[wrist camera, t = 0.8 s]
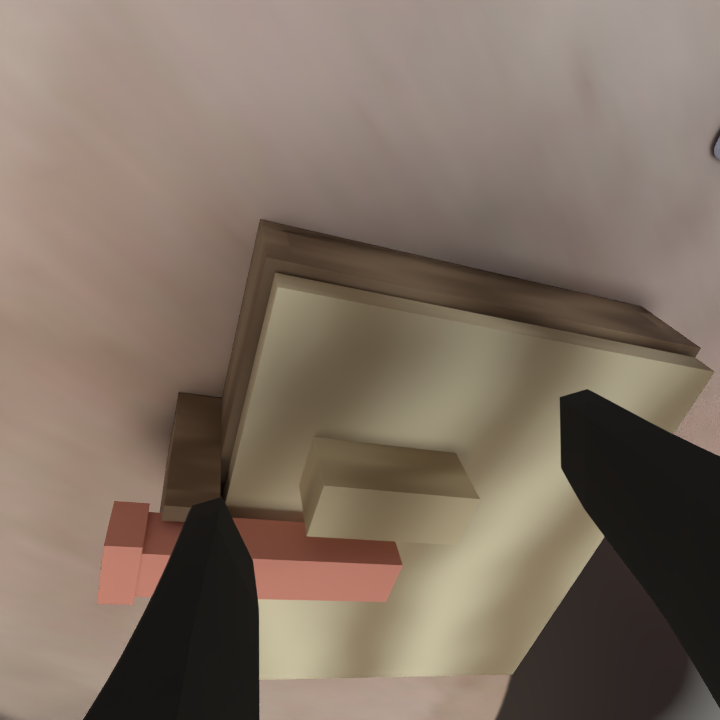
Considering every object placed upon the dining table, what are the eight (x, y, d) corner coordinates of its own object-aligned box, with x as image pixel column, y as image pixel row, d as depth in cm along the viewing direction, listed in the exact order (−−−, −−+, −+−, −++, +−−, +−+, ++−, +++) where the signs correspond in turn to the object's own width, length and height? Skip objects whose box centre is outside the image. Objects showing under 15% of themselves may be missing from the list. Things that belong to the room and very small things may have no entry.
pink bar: (393, 520, 20) (406, 560, 18) (373, 568, 21) (383, 609, 19) (114, 501, 17) (103, 545, 16) (107, 557, 18) (97, 603, 17)
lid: (694, 357, 21) (764, 408, 18) (503, 654, 28) (532, 721, 26) (275, 272, 16) (284, 324, 13) (183, 657, 24) (178, 740, 21)
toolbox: (642, 306, 24) (751, 383, 19) (479, 594, 32) (525, 702, 27) (210, 208, 18) (204, 279, 13) (145, 585, 26) (126, 717, 21)
